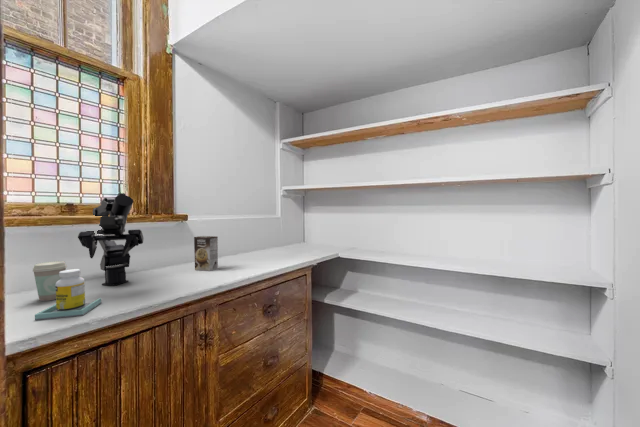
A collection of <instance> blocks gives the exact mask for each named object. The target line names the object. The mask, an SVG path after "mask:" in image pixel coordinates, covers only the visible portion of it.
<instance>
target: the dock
mask: <svg viewBox="0 0 640 427" xmlns="http://www.w3.org/2000/svg"><path fill="white" fill-rule="evenodd" d="M101 304H102V297H99V298H97V299H95V300H94V301H92V302H85V306H84V307H83V308H82V309H80V310H70V311H60V312H57V310H56V303H55V304H53V305H51V306H49V307H47V308H45V309H43V310H41V311H39V312H38V313H35V314H34V321H39V320H42V321H43V320H50V319H60V318H70V317H81V316H84V315H86V314H87V313H89V312H90V311H92V310H93V309H94V308H96V307H97V306H99V305H101Z"/></svg>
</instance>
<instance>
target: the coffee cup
mask: <svg viewBox="0 0 640 427" xmlns="http://www.w3.org/2000/svg"><path fill="white" fill-rule="evenodd" d="M67 267H68V266H67V264H66V262H65V261H63V260H58V261H57V260H56V261H55V260H54V261H46V262H39V263H36V264H34V266H33V268H32V272H33V276H34V281H35V286H36V290H37V295H38V299H39V301H41V302H46V301H47V302H49V301H53V300H56V282H57V281H59V280H60V279H61V277H60V276H59V272H60V271H64V270H67Z"/></svg>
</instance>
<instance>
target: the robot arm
mask: <svg viewBox="0 0 640 427" xmlns="http://www.w3.org/2000/svg"><path fill="white" fill-rule="evenodd" d="M133 204H134V199H133V198H132V197H130V196H128V195H126V194H125V193H123V192H120V193H118V194H117V196H115V197H103V199H102V200H101V203H100V205H98V206H97V207H94V208H93V209H92V213H93V215H95V216H102V217H99V218H100V219H99V221H100V224H99V226H101V227H102V229H101V230H98V231H97V235H95V233H94V231H86V230H85V231H80V232H79V233H78V235H77V239H78V241H79V242H80V244H81V246H82V247H84V248H86V249H88V254H89V257H90V259H94V256H95V254H96V250H97V247H98V246H97V245H98V243H99V245H100V246H101V248H102V251H103V254H102V257H101V259H100V264H99V266H100V270H102V271H103V272H104V282H103V283H101V285H102V286H118V285H121V284H125V283H127V282H129V279H127V275H126V274H127V273H126V272H127V271H126V268H129V267H130V263H131V262H130V261H131V255H130V253H129V252H130V251H131V250H132V249H133V248H135V247H138V246H139V245H142V244H143V243H144V239H145V238H144V235H143V231H142V230H141V229H128V231H127V233H125V232H126V225H127V220H128V215H129V214H130V212H131V209H132V206H133ZM116 241H125V243H124V244H117V243H116Z"/></svg>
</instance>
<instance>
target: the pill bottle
mask: <svg viewBox="0 0 640 427" xmlns="http://www.w3.org/2000/svg"><path fill="white" fill-rule="evenodd" d="M80 275H81V268H73V269H72V268H71V269H66V270H64V271H60V272H59V276H60V277H61V279H60V280H59V281H57V282H56V299H55V304H56V310H57V312H60V311H70V310H80V309H82V308H83V307H84V306H85V303H86V291H85V288H86V284H85V281H86V280H85V279H84V278H83V277H81V276H80Z"/></svg>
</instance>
